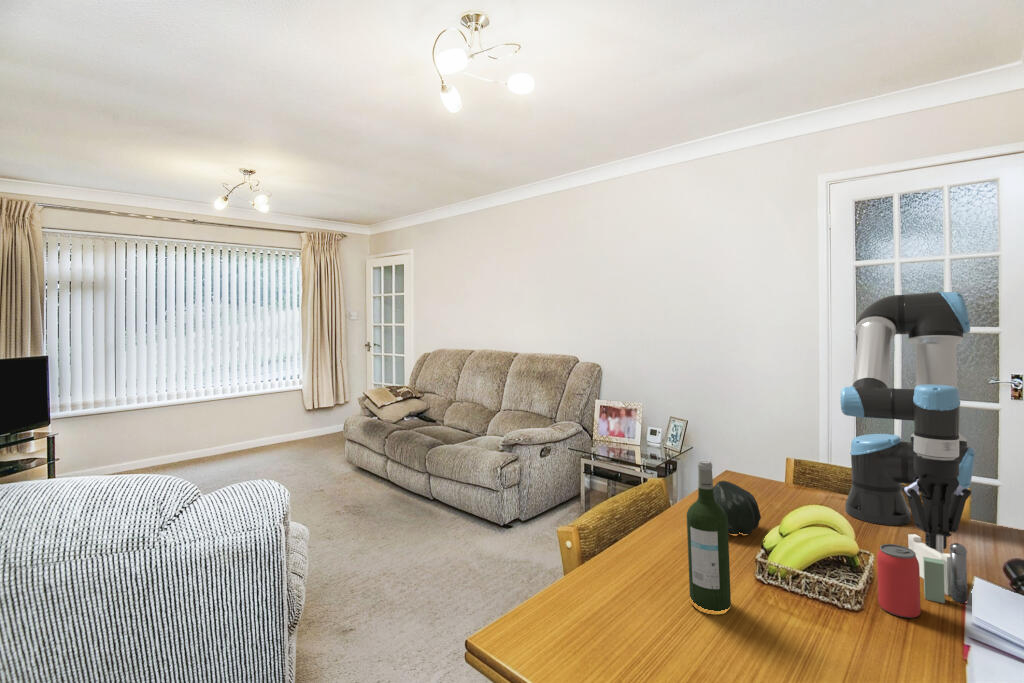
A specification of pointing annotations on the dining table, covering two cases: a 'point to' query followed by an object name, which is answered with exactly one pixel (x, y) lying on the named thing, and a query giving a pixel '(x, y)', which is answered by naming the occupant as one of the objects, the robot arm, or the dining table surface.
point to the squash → (737, 507)
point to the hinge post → (958, 572)
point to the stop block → (934, 579)
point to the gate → (926, 551)
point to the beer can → (898, 581)
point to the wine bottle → (708, 546)
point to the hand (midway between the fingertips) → (935, 562)
